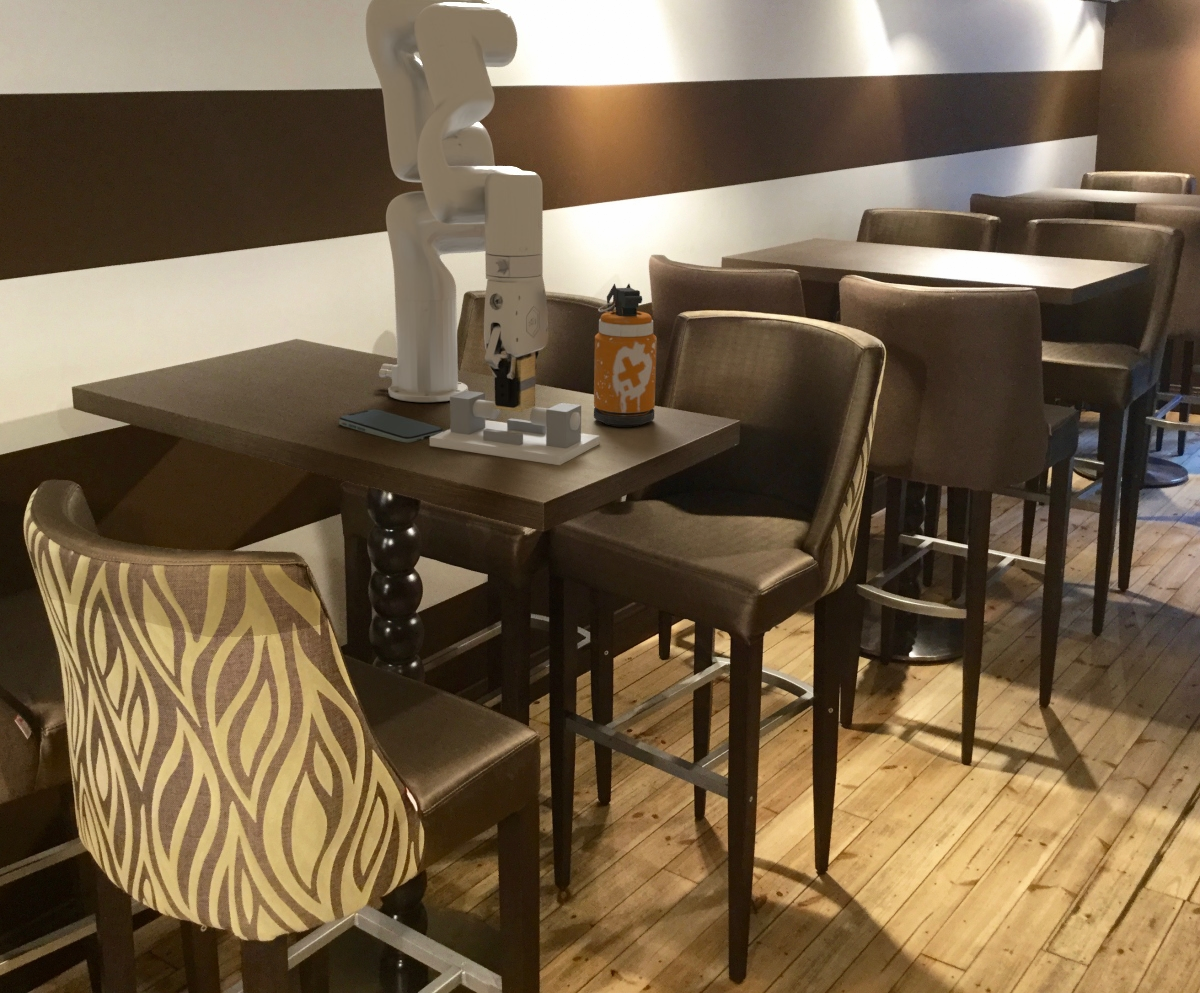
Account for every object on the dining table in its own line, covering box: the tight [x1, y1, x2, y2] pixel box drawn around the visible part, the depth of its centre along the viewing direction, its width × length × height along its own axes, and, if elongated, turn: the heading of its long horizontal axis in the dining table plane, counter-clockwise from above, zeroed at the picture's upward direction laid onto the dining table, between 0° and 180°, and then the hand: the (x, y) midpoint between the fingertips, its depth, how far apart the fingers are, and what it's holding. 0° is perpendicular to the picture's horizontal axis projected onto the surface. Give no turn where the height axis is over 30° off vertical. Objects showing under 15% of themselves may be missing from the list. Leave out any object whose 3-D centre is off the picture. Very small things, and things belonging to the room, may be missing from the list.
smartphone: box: [338, 408, 444, 443], centre depth 183 cm, size 8×2×15 cm
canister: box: [593, 283, 658, 428], centre depth 187 cm, size 9×11×20 cm
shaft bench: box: [428, 390, 601, 466], centre depth 175 cm, size 20×12×6 cm, turn 64°
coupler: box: [493, 352, 536, 413], centre depth 173 cm, size 4×4×8 cm
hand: (515, 401), depth 174 cm, fingers closed on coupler, 4 cm apart
